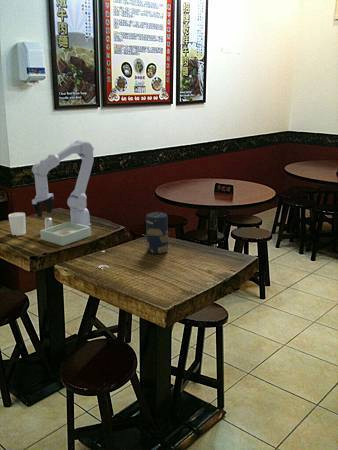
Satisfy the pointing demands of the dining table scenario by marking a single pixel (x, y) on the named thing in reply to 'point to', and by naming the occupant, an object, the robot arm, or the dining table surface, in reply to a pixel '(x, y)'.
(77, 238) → the caddy
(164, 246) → the canister
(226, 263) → the dining table surface
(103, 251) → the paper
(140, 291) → the dining table surface
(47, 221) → the peg
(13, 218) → the white cup
